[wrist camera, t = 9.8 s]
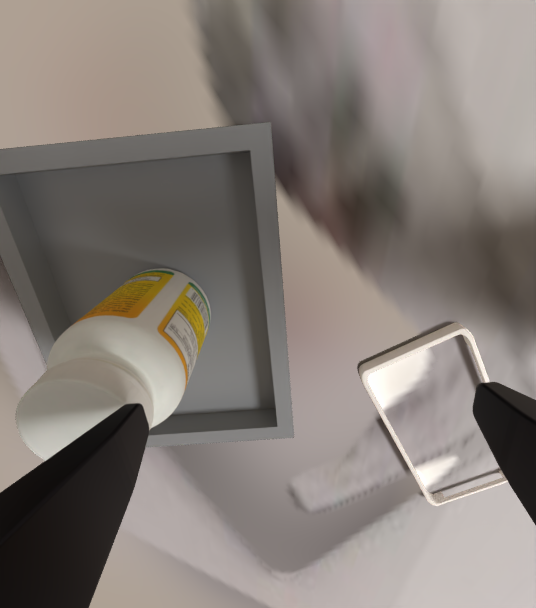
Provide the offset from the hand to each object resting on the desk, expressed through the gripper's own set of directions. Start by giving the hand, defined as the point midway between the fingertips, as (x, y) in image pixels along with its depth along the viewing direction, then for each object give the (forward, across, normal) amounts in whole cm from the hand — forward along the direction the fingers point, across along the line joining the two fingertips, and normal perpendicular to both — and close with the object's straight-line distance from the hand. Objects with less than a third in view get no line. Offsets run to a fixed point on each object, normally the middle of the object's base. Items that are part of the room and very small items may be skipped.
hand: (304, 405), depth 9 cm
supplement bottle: (+10, +8, +1) cm, 13 cm away
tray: (+11, +8, +1) cm, 14 cm away
